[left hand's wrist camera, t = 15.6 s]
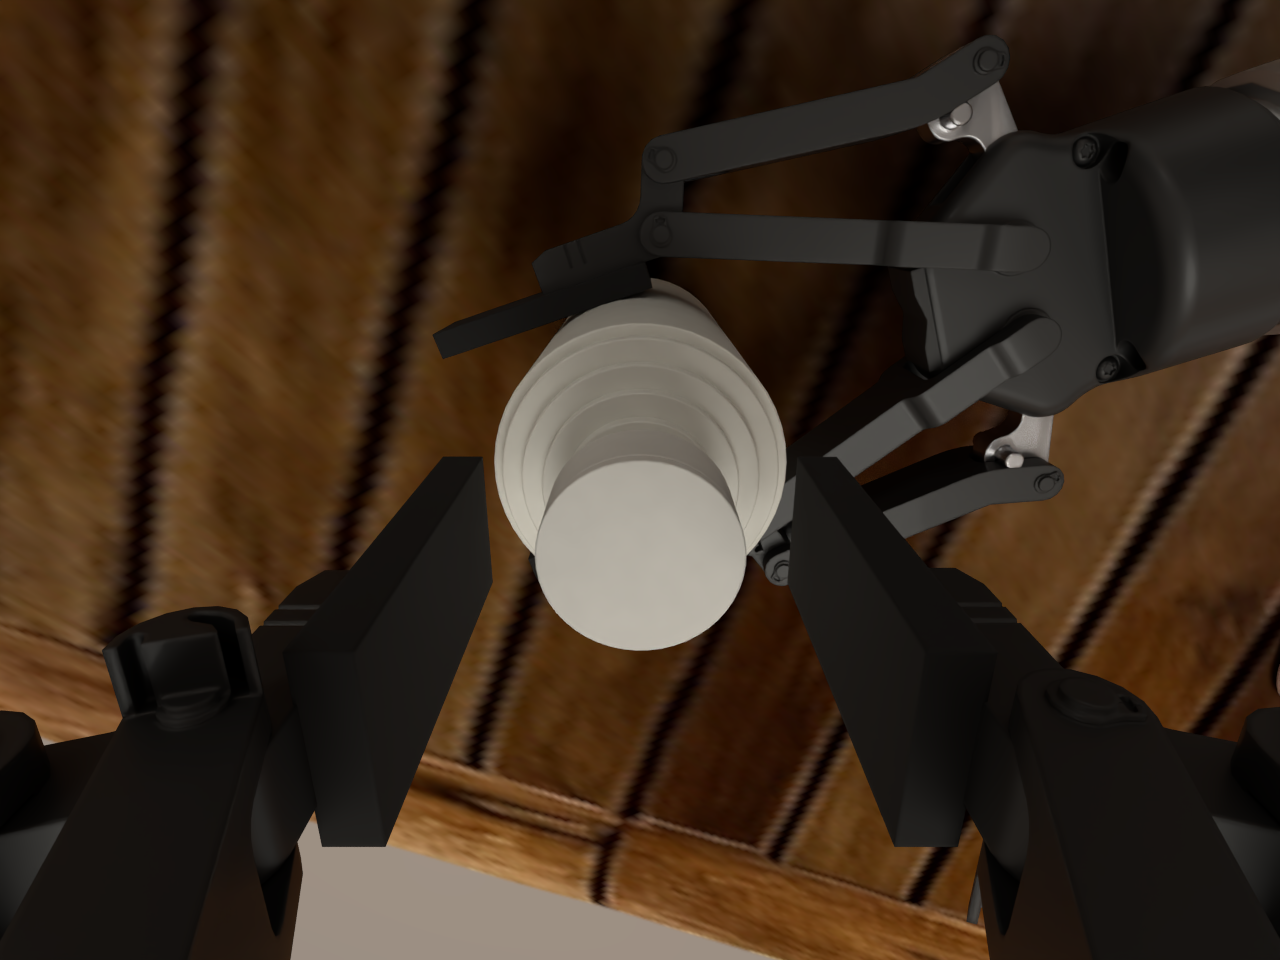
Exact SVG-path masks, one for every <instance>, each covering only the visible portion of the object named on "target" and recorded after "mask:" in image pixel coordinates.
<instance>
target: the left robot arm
mask: <svg viewBox="0 0 1280 960" xmlns="http://www.w3.org/2000/svg"><path fill="white" fill-rule="evenodd" d="M492 582H493V581H492V568H491V556H490V544H489V531H488V519H487V507H486V494H485V482H484V470H483V457H443V458H442V459H441V460H440V461H439V463H438V464H437V465H436V466H435V467H434V469H433V470H432V471H431V472H430V473H429V475H428V476H427V477H426V478H425V479H424V481H423V482H422V483H421V484H420V486H419V487H418V488H417V489H416V490H415V492H414V493H413V494H412V495H411V496H410V498H409V499H408V500H407V501H406V503H405V504H404V505H403V506H402V507H401V509H400V510H399V511H398V512H397V513H396V515H395V516H394V517H393V518H392V519H391V521H390V522H389V523H388V524H387V526H386V527H385V528H384V529H383V530H382V532H381V533H380V534H379V535H378V536H377V538H376V539H375V540H374V541H373V543H372V544H371V545H370V546H369V547H368V549H367V550H366V551H365V552H364V553H363V555H362V556H361V557H360V558H359V560H358V561H357V562H356V563H355V564H354V566H353V567H352V568H351V569H350V570H325V571H323V572H321V573H320V574H318V575H316V576H314V577H312V578H311V579H309V580H307V581H305V582H304V583H302V584H300V585H298V586H297V587H296V588H295V589H294V590H293V591H292V592H291V593H290V594H289V595H288V596H287V597H286V598H285V599H284V601H283V602H282V603H281V604H280V605H279V609H278V610H274V611H273V612H272V613H271V615H270V616H269V617H268V618H267V619H266V620H265V621H264V626H259V627H258V628H257V630H256V631H255V632H254V633H253V634H251V630H250V625H249V621H248V617H247V616H245V615H244V614H243V613H241V612H240V611H238V610H237V609H231V608H226V607H220V606H213V607H195V608H189V609H185V610H180V611H175V612H171V613H166V614H163V615H161V616H158V617H155V618H153V619H150V620H147V621H144V622H142V623H139V624H137V625H136V626H134V627H132V628H130V629H129V630H127V631H125V632H123V633H121V634H120V635H118V636H116V637H115V638H114V639H113V640H112V641H111V642H110V643H109V644H108V645H107V646H106V647H105V648H104V649H103V650H102V652H103V655H104V659H105V662H106V665H107V668H108V672H109V675H110V678H111V681H112V685H113V688H114V691H115V694H116V698H117V701H118V704H119V707H120V711H121V714H122V717H123V719H122V720H121V722H120V724H119V726H118V728H117V730H116V731H114V732H110V733H105V734H100V735H95V736H90V737H85V738H80V739H75V740H70V741H65V742H60V743H55V744H50V745H45V746H44V745H43V742H42V739H41V737H40V734H39V731H38V728H37V725H36V723H35V720H33V719H32V718H30V717H29V716H28V715H26V714H25V713H23V712H13V711H2V710H1V711H0V960H290V958H291V951H292V944H293V937H294V931H295V924H296V917H297V910H298V903H299V896H300V889H301V883H302V876H303V871H302V863H301V857H300V852H299V847H298V843H297V841H298V840H299V838H300V836H301V834H302V832H303V831H304V829H305V827H306V825H307V823H308V821H309V820H310V818H311V816H312V814H313V812H314V811H315V814H316V819H317V824H318V829H319V834H320V839H321V844H322V847H386V844H387V842H388V839H389V837H390V834H391V832H392V829H393V827H394V824H395V822H396V820H397V817H398V815H399V812H400V810H401V807H402V805H403V802H404V800H405V797H406V795H407V792H408V790H409V787H410V785H411V783H412V780H413V778H414V775H415V773H416V770H417V768H418V765H419V763H420V760H421V758H422V755H423V753H424V750H425V748H426V745H427V743H428V741H429V738H430V736H431V733H432V731H433V728H434V726H435V723H436V721H437V718H438V716H439V713H440V711H441V708H442V706H443V703H444V701H445V699H446V696H447V694H448V691H449V689H450V686H451V684H452V681H453V679H454V676H455V674H456V671H457V669H458V666H459V664H460V661H461V659H462V657H463V654H464V652H465V649H466V647H467V644H468V642H469V639H470V637H471V634H472V632H473V629H474V627H475V624H476V622H477V620H478V617H479V615H480V612H481V610H482V607H483V605H484V602H485V600H486V597H487V595H488V592H489V590H490V587H491V585H492ZM787 582H788V585H789V587H790V590H791V592H792V595H793V597H794V600H795V602H796V605H797V607H798V610H799V612H800V615H801V617H802V620H803V622H804V624H805V627H806V629H807V632H808V634H809V637H810V639H811V642H812V644H813V647H814V649H815V652H816V654H817V657H818V659H819V661H820V664H821V666H822V669H823V671H824V674H825V676H826V679H827V681H828V684H829V686H830V689H831V691H832V694H833V696H834V699H835V701H836V703H837V706H838V708H839V711H840V713H841V716H842V718H843V721H844V723H845V726H846V728H847V731H848V733H849V736H850V738H851V741H852V743H853V745H854V748H855V750H856V753H857V755H858V758H859V760H860V763H861V765H862V768H863V770H864V773H865V775H866V778H867V780H868V783H869V785H870V787H871V790H872V792H873V795H874V797H875V800H876V802H877V805H878V807H879V810H880V812H881V815H882V817H883V820H884V822H885V824H886V827H887V829H888V832H889V834H890V837H891V839H892V842H893V844H894V847H958V844H959V839H960V834H961V829H962V824H963V819H964V814H965V810H966V809H967V810H968V812H969V814H970V816H971V818H972V819H973V821H974V823H975V825H976V827H977V829H978V830H979V832H980V834H981V836H982V838H983V843H982V847H981V852H980V856H979V861H978V865H977V870H976V874H975V879H974V884H973V888H972V893H971V897H970V902H969V907H968V914H967V922H970V923H973V924H977V922H978V918H979V913H980V909H981V907H982V908H983V915H984V922H985V929H986V936H987V943H988V950H989V956H990V960H1280V707H1275V708H1264V709H1257V710H1256V711H1254V712H1253V713H1252V714H1250V715H1249V716H1247V717H1246V720H1245V723H1244V725H1243V728H1242V731H1241V734H1240V737H1239V739H1238V742H1233V741H1228V740H1223V739H1217V738H1212V737H1207V736H1202V735H1197V734H1192V733H1187V732H1182V731H1177V730H1172V729H1168V728H1164V727H1163V726H1162V725H1161V723H1160V721H1159V719H1158V717H1157V716H1156V715H1155V714H1154V713H1153V712H1152V710H1151V709H1150V708H1149V707H1148V706H1147V705H1146V703H1145V702H1144V701H1142V700H1141V699H1139V698H1138V697H1136V696H1135V695H1133V694H1132V693H1130V692H1129V691H1127V690H1126V689H1124V688H1123V687H1121V686H1119V685H1116V684H1114V683H1112V682H1109V681H1107V680H1105V679H1102V678H1100V677H1098V676H1095V675H1091V674H1087V673H1083V672H1079V671H1075V670H1070V669H1063V668H1062V667H1061V666H1060V665H1059V663H1058V662H1057V661H1056V660H1055V659H1054V658H1053V657H1052V656H1051V655H1050V654H1049V653H1048V652H1047V651H1046V650H1045V649H1044V647H1043V646H1042V645H1041V644H1040V643H1039V642H1038V641H1037V640H1036V639H1035V638H1034V637H1033V636H1032V635H1031V634H1030V633H1029V632H1028V630H1027V629H1026V628H1025V627H1024V626H1023V625H1022V624H1021V623H1017V619H1016V618H1015V617H1014V616H1013V614H1012V613H1011V612H1010V611H1009V610H1008V609H1007V608H1006V607H1002V603H1001V602H1000V601H999V600H998V599H997V597H996V596H995V595H994V594H993V593H992V592H991V591H990V590H989V589H988V588H987V587H986V586H985V585H984V584H983V583H981V582H979V581H978V580H976V579H974V578H972V577H970V576H969V575H967V574H965V573H963V572H962V571H960V570H958V569H956V568H928V567H927V566H926V564H925V563H924V562H923V561H922V560H921V558H920V557H919V556H918V555H917V553H916V552H915V551H914V550H913V549H912V547H911V546H910V545H909V544H908V543H907V541H906V540H905V539H904V538H903V536H902V535H901V534H900V533H899V532H898V530H897V529H896V528H895V527H894V526H893V524H892V523H891V522H890V521H889V519H888V518H887V517H886V516H885V515H884V513H883V512H882V511H881V510H880V509H879V507H878V506H877V505H876V504H875V503H874V501H873V500H872V499H871V498H870V496H869V495H868V494H867V493H866V492H865V490H864V489H863V488H862V487H861V486H860V484H859V483H858V482H857V481H856V479H855V478H854V477H853V476H852V475H851V473H850V472H849V471H848V470H847V469H846V467H845V466H844V465H843V464H842V463H841V461H840V460H839V459H838V458H837V457H797V470H796V482H795V494H794V507H793V519H792V531H791V544H790V556H789V568H788V581H787Z"/></svg>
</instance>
